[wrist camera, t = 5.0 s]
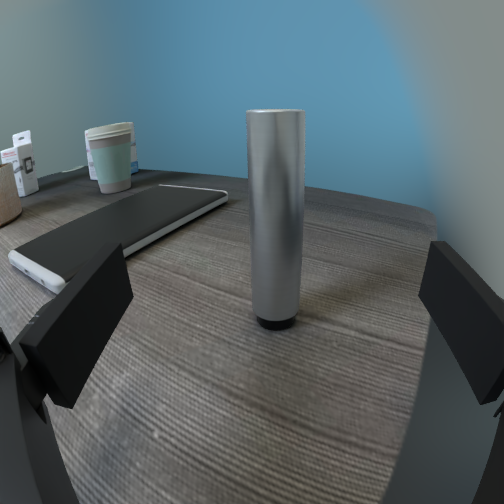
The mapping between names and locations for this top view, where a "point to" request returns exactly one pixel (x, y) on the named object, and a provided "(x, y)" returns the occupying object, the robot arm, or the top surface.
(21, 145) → the ink box
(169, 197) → the smartphone
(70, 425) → the top surface
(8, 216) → the planter
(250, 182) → the grey metal rod
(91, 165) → the ink box
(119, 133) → the coffee cup
